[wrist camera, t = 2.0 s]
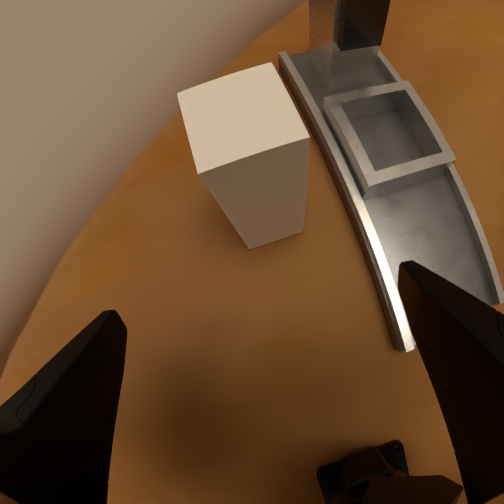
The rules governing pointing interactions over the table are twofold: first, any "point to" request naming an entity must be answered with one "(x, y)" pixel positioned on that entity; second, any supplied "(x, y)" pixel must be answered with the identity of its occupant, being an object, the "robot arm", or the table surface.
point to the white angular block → (250, 151)
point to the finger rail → (387, 159)
